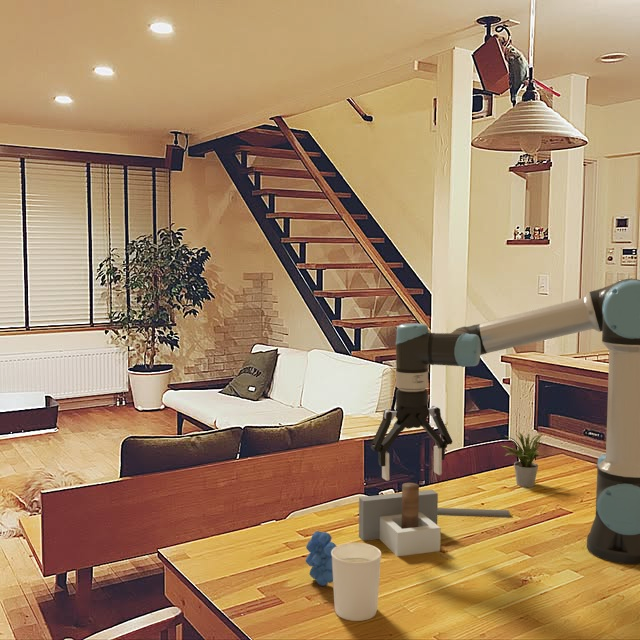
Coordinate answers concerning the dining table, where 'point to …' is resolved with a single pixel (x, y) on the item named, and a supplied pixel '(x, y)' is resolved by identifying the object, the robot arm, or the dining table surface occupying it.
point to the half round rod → (473, 512)
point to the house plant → (525, 461)
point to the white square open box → (409, 535)
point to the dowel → (410, 505)
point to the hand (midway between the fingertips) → (411, 476)
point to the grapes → (320, 557)
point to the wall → (390, 510)
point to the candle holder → (356, 580)
